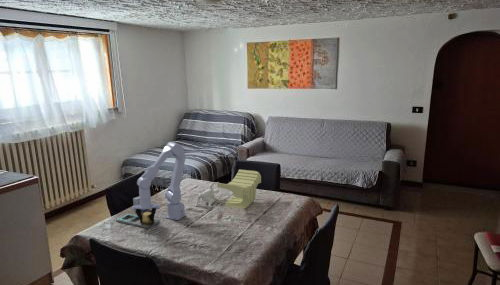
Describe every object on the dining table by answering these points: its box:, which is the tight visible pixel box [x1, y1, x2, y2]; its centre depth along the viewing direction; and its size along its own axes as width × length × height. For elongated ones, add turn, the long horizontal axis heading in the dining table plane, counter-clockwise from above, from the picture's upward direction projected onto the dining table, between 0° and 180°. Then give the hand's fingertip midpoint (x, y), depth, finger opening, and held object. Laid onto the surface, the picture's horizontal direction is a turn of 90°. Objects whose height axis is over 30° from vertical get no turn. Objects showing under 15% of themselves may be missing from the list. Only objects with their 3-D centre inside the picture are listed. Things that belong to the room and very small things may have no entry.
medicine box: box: [132, 195, 147, 213], centre depth 208 cm, size 8×4×9 cm, turn 143°
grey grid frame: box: [115, 213, 161, 230], centre depth 192 cm, size 24×9×1 cm, turn 65°
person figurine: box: [194, 181, 223, 209], centre depth 218 cm, size 13×13×18 cm
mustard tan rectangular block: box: [141, 211, 152, 225], centre depth 189 cm, size 4×4×6 cm
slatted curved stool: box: [216, 169, 262, 210], centre depth 214 cm, size 30×16×18 cm, turn 156°
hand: (147, 221), depth 189 cm, fingers closed on mustard tan rectangular block, 6 cm apart
